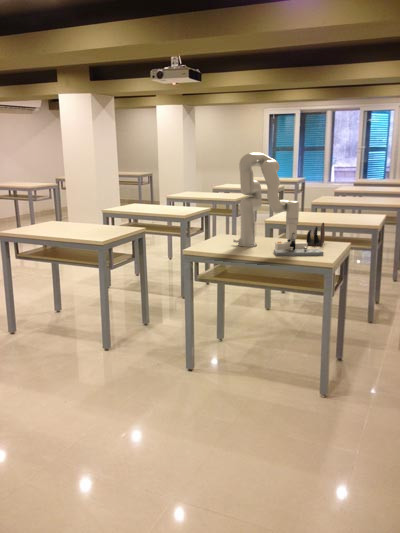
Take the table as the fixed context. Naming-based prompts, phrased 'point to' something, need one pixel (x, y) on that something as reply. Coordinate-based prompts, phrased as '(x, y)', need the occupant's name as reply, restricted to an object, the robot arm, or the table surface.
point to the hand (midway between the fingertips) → (291, 248)
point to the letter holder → (315, 237)
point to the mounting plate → (298, 252)
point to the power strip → (287, 245)
